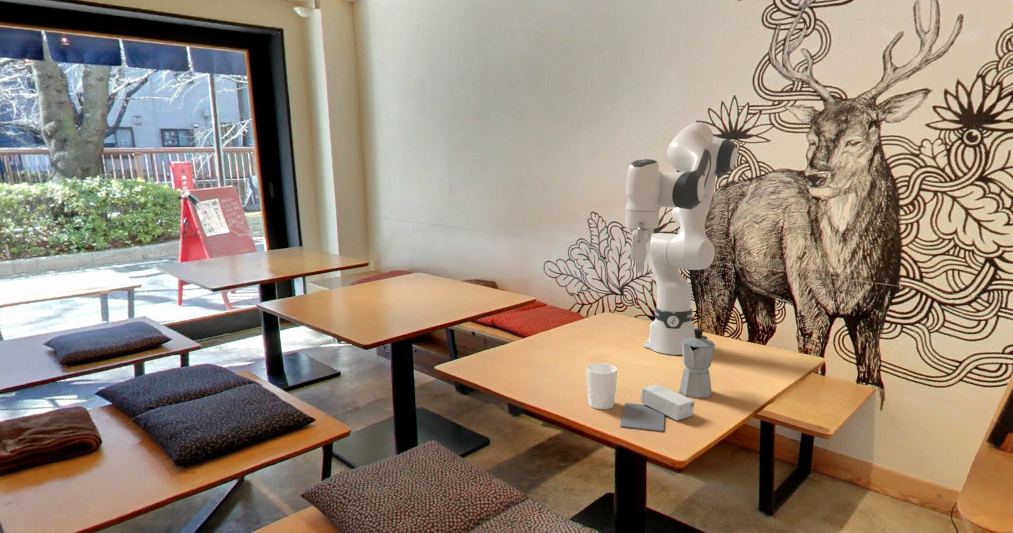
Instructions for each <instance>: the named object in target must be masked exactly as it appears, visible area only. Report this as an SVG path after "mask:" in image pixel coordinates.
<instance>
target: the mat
mask: <svg viewBox="0 0 1013 533" xmlns="http://www.w3.org/2000/svg"><path fill="white" fill-rule="evenodd" d="M665 416H666V415H665V414H663V413H661V412H659V411H657V410H655V409H653V408H651V407H649V406H647V405H645V404H643V403H641V404H640V403H633V402H625V404H624V408H623V412H622V416H621V422H620V425H619V426H620V428H624V429H632V430H633V429H636V430H644V431H653V432H660V433H664V427H665Z"/></svg>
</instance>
